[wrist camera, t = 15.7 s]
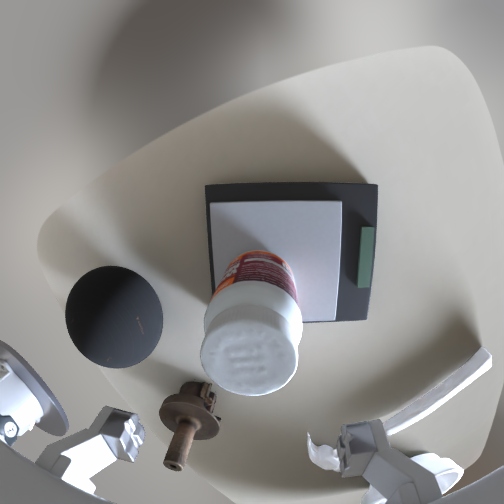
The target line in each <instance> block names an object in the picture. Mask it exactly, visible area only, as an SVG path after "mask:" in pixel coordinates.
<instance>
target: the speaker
mask: <svg viewBox="0 0 504 504" xmlns="http://www.w3.org/2000/svg"><path fill="white" fill-rule="evenodd" d="M65 318H66V325H67V329H68V333H69V335H70V337H71V339H72V341H73V343H74V345H75V346H76V347H77V349H78V350H79V351H80V352H81V353H82V354H83V355H84V356H85V357H86V358H88V359H89V360H91V361H92V362H94V363H96V364H98V365H101V366H104V367H108V368H127V367H130V366H133V365H136V364H138V363H140V362H141V361H143V360H144V359H145V358H147V357H148V356H149V355H150V354H151V353H152V351H153V350H154V349H155V347H156V345H157V344H158V341H159V339H160V336H161V333H162V328H163V313H162V308H161V304H160V301H159V299H158V296H157V294H156V293H155V291H154V289H153V288H152V287H151V285H150V284H149V283H148V282H147V281H146V280H145V279H144V278H143V277H142V276H140V275H139V274H137V273H136V272H134V271H132V270H129V269H127V268H123V267H119V266H104V267H99V268H96V269H94V270H91V271H89V272H88V273H86V274H85V275H83V276H82V277H81V278H80V279H79V280H78V281H77V282H76V284H75V285H74V286H73V288H72V290H71V292H70V294H69V296H68V299H67V303H66V310H65Z"/></svg>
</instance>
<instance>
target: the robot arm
mask: <svg viewBox="0 0 504 504" xmlns="http://www.w3.org/2000/svg"><path fill="white" fill-rule="evenodd" d="M42 416H43V410H42V408H41V406H40V404H39V402H38V401H37V399H36V397H35V396H34V395H33V393H32V392H31V391H30V389H29V388H28V387H27V386H26V385H25V383H24V382H23V381H22V380H21V379H20V378H19V377H18V376H17V375H16V374H15V373H14V372H13V370H12V369H11V367H10V366H9V365H8V363H7V362H6V361H4V360H0V504H116V503H113V502H111V501H108V500H106V499H103V498H101V497H98V496H96V495H94V494H93V492H94V490H95V486H94V484H93V483H92V482H91V481H90V480H89V479H88V478H89V477H91V476H93V475H94V474H96V473H97V472H99V471H100V470H102V469H103V468H104V467H106V466H108V465H109V464H111V463H112V462H114V461H115V460H116V458H118V459H121V460H124V461H128V462H132V463H134V461H135V459H136V457H137V455H138V453H139V451H138V449H137V448H138V447H139V446H141V445H142V444H143V441H144V438H145V431H144V427H143V426H142V425H141V424H140V423H139V420H140V418H139V416H138V414H135V413H131V412H127V411H123V410H119V409H116V408H112V407H109V406H105V407H103V408H102V410H101V411H100V413H99V414H98V416H97V417H96V419H95V420H94V422H93V423H92V425H91V426H90V428H89V429H84V430H82V431H80V432H77V433H75V434H73V435H71V436H68V437H66V438H64V439H62V440H59V441H57V442H55V443H52V444H50V445H48V446H47V447H46V448H45V450H44V451H43V452H42V454H41V455H40V456H39V458H38V459H37V461H36V462H35V463H34V462H32V461H30V460H29V459H27V458H26V457H24V456H23V455H21V454H20V453H19V452H17V451H16V450H14V449H13V448H11V445H13V444H14V442H15V441H16V440H17V436H18V435H19V436H21V435H22V434H23V433H25V432H26V431H27V430H28V429H29V428H30V430H31V429H32V427H33V425H34V423H35V422H36V423H39V422H40V418H41V417H42ZM337 454H338V457H339V458H340V459H341V462H340V465H339V466H340V472H341V478H344V477H352V476H359V475H362V476H363V477H364V478H365V479H366V480H367V481H368V482H369V483H370V484H371V485H372V486H373V487H374V488H375V489H376V490H377V491H378V492H379V493H380V494H381V495H382V496H383V497H385V498H386V499H387V501H386V502H385V504H504V465H503V466H502V467H500V468H498V469H497V470H495V471H493V472H492V473H490V474H488V475H487V476H485V477H483V478H481V479H479V480H478V481H476V482H474V483H472V484H470V485H468V486H466V487H464V488H462V489H460V490H458V491H456V492H453V493H451V494H449V495H447V496H445V497H443V496H442V493H441V490H440V487H439V485H438V482H437V480H436V477H435V475H434V473H432V472H431V471H429V470H427V469H426V468H424V467H423V466H421V465H420V464H418V463H416V462H415V461H413V460H412V459H410V458H409V457H407V456H406V455H404V454H403V453H401V452H400V451H398V450H397V449H395V448H392V449H391V446H390V444H389V441H388V438H387V435H386V432H385V430H384V427H383V424H382V422H381V420H380V419H377V420H372V421H364V422H357V423H350V424H343V425H342V427H341V435H340V436H339V437H338V440H337Z"/></svg>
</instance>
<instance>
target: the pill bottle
mask: <svg viewBox="0 0 504 504" xmlns="http://www.w3.org/2000/svg"><path fill="white" fill-rule="evenodd" d="M204 331H205V337H204V340H203V342H202V346H201V351H200V359H201V363H202V366H203V368H204V370H205V372H206V374H207V375H208V376H209V377H210V379H211V380H212V381H213V382H215V383H216V384H217V385H218V386H220V387H222V388H223V389H225V390H227V391H230V392H233V393H236V394H240V395H248V396H257V395H263V394H268V393H271V392H274V391H276V390H278V389H280V388H281V387H283V386H284V385H285V384H286V383H288V382H289V380H290V379H291V378H292V376H293V375H294V373H295V371H296V368H297V364H298V351H297V346H298V344H299V341H300V339H301V335H302V316H301V312H300V308H299V302H298V297H297V292H296V286H295V281H294V276H293V273H292V271H291V269H290V267H289V266H288V264H287V263H286V262H285V261H284V260H283V259H282V258H281V257H279V256H278V255H276V254H274V253H272V252H268V251H264V250H253V251H248V252H245V253H243V254H241V255H239V256H238V257H236V258H235V259H234V260H233V261H232V262H231V263H230V264H229V266H228V267H227V269H226V271H225V273H224V275H223V277H222V278H221V280H220V283H219V285H218V287H217V289H216V291H215V293H214V295H213V297H212V299H211V301H210V303H209V306H208V308H207V310H206V313H205V317H204Z"/></svg>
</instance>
